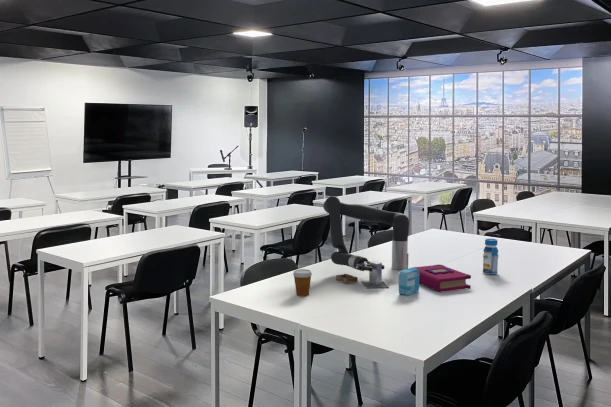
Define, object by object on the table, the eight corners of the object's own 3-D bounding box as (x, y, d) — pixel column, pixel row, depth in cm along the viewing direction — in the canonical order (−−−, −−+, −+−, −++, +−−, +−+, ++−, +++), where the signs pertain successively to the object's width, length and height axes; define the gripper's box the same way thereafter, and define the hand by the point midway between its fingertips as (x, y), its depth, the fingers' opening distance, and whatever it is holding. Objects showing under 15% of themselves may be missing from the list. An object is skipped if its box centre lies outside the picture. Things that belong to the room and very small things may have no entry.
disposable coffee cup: (298, 298, 274) (298, 274, 273) (290, 293, 282) (289, 270, 281) (315, 295, 278) (315, 272, 277) (306, 291, 287) (306, 268, 285)
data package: (406, 296, 277) (406, 272, 275) (398, 294, 280) (398, 271, 278) (419, 291, 285) (419, 268, 284) (411, 289, 288) (412, 267, 287)
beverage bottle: (498, 275, 316) (500, 241, 314) (483, 274, 318) (484, 240, 316) (496, 272, 325) (498, 238, 322) (481, 271, 326) (482, 237, 324)
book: (438, 293, 284) (438, 278, 283) (408, 280, 309) (408, 266, 309) (471, 288, 291) (472, 274, 290) (440, 276, 317) (440, 263, 316)
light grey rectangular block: (369, 283, 299) (369, 261, 297) (374, 282, 301) (374, 261, 299) (376, 286, 294) (376, 264, 292) (381, 285, 296) (381, 263, 294)
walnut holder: (335, 280, 308) (335, 275, 308) (346, 278, 312) (346, 273, 312) (347, 283, 300) (347, 279, 300) (357, 281, 304) (357, 277, 304)
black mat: (384, 282, 304) (384, 281, 304) (388, 287, 292) (388, 287, 292) (362, 282, 303) (362, 281, 303) (366, 288, 291) (366, 287, 291)
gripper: (348, 257, 303) (367, 263, 290) (368, 254, 311) (388, 259, 298) (348, 271, 304) (367, 277, 291) (368, 267, 312) (387, 273, 299)
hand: (378, 268), depth 295 cm, fingers open, 8 cm apart
